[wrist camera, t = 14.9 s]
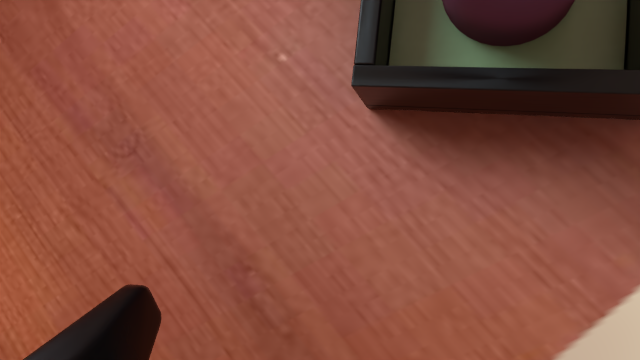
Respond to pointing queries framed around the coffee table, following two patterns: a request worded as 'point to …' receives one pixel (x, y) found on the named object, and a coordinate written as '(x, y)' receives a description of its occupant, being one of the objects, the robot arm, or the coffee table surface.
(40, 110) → the coffee table surface
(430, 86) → the tray
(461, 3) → the cup
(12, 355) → the coffee table surface
